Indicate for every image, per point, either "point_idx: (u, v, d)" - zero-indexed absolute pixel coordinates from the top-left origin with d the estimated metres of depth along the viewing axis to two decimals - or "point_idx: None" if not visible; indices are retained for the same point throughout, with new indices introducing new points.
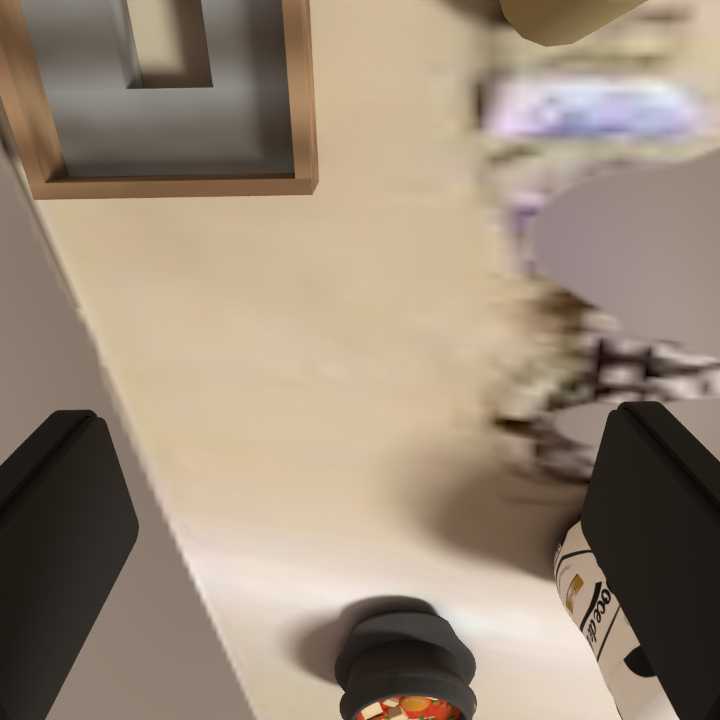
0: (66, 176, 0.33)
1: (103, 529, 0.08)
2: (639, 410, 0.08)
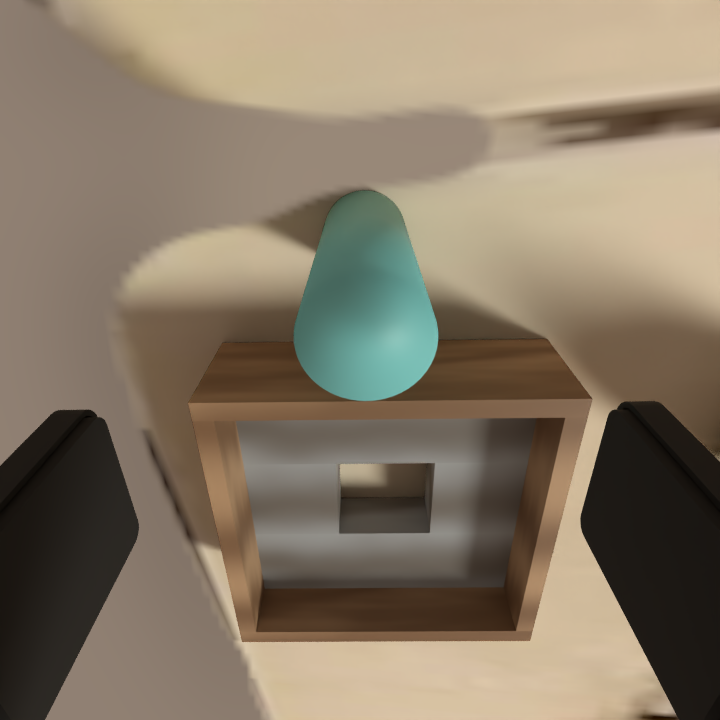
0: (263, 592, 0.32)
1: (103, 529, 0.08)
2: (639, 410, 0.08)
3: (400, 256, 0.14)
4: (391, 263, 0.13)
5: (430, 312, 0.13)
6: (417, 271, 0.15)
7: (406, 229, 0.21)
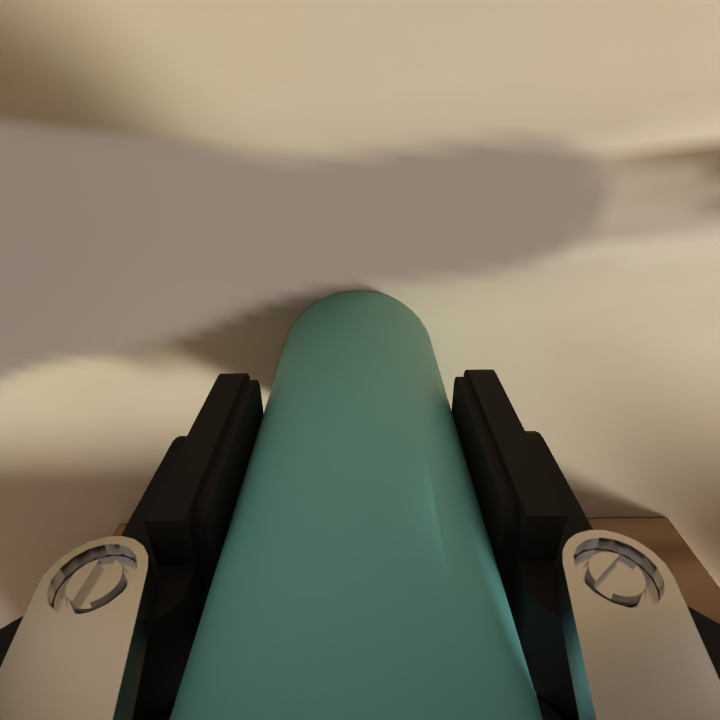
0: None
1: None
2: (472, 376, 0.09)
3: None
4: None
5: None
6: None
7: (444, 391, 0.10)
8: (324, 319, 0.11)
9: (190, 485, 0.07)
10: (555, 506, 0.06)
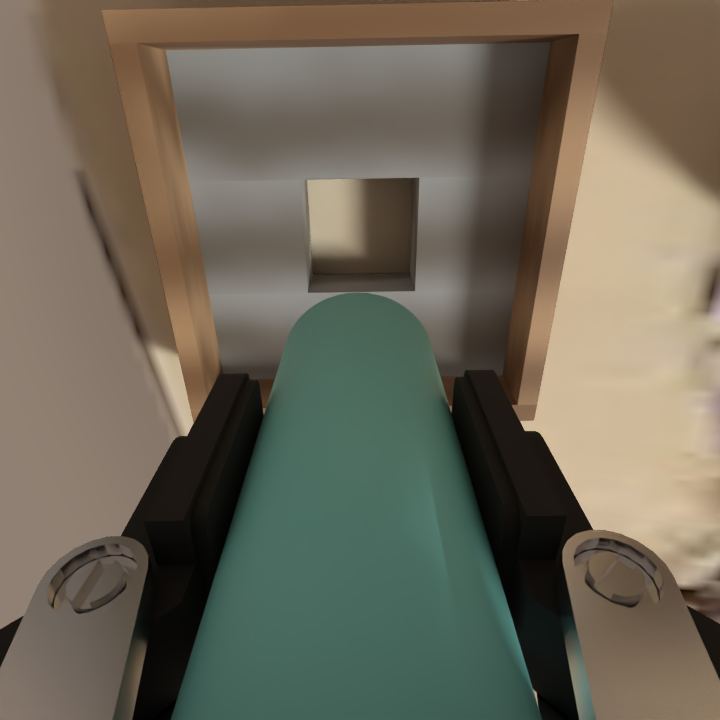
0: None
1: None
2: (472, 376, 0.09)
3: None
4: None
5: None
6: None
7: (444, 394, 0.10)
8: (324, 321, 0.11)
9: (190, 485, 0.07)
10: (555, 506, 0.06)
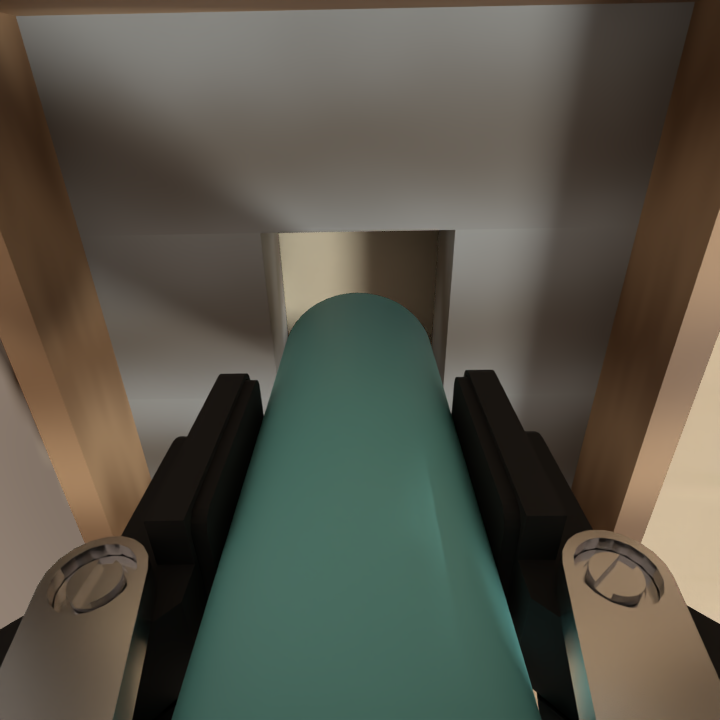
0: None
1: None
2: (472, 376, 0.09)
3: None
4: None
5: None
6: None
7: (444, 394, 0.10)
8: (324, 322, 0.11)
9: (190, 485, 0.07)
10: (555, 506, 0.06)
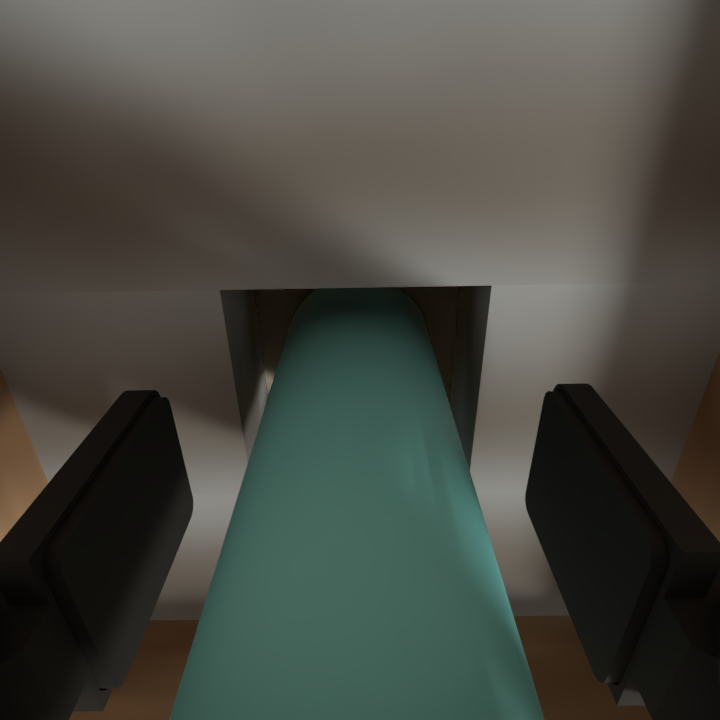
0: None
1: (168, 502, 0.09)
2: (569, 391, 0.08)
3: (468, 639, 0.04)
4: None
5: None
6: (516, 661, 0.05)
7: (437, 367, 0.11)
8: (326, 302, 0.12)
9: (50, 519, 0.06)
10: (711, 541, 0.06)
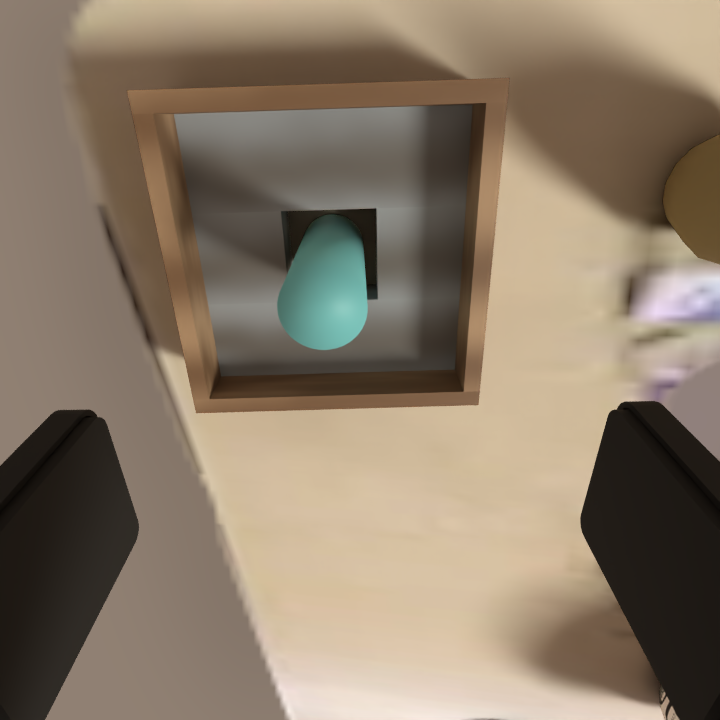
0: (219, 378, 0.33)
1: (103, 529, 0.08)
2: (639, 410, 0.08)
3: (345, 257, 0.23)
4: (337, 261, 0.21)
5: (361, 290, 0.21)
6: (357, 267, 0.23)
7: (360, 241, 0.29)
8: (319, 221, 0.30)
9: None
10: None
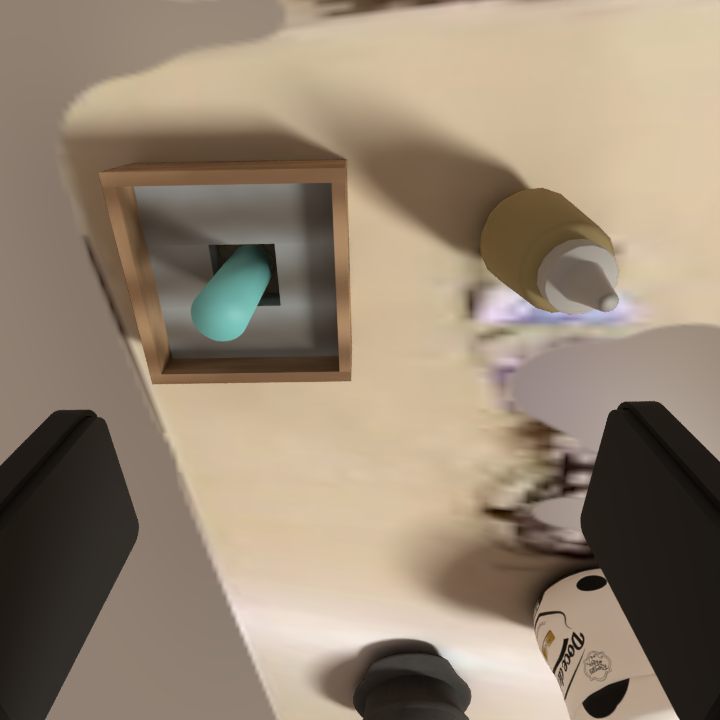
0: (171, 359, 0.45)
1: (103, 529, 0.08)
2: (639, 410, 0.08)
3: (238, 282, 0.35)
4: (229, 285, 0.34)
5: (242, 304, 0.34)
6: (246, 288, 0.35)
7: (265, 265, 0.42)
8: (238, 250, 0.42)
9: None
10: None
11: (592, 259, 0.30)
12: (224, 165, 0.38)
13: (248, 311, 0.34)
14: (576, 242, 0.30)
